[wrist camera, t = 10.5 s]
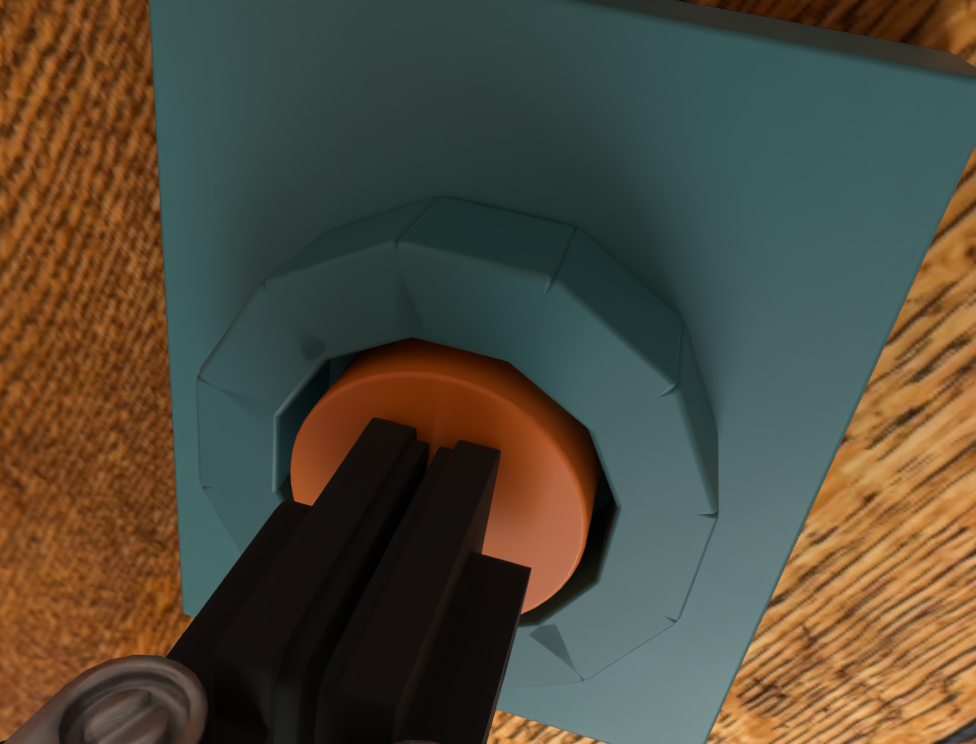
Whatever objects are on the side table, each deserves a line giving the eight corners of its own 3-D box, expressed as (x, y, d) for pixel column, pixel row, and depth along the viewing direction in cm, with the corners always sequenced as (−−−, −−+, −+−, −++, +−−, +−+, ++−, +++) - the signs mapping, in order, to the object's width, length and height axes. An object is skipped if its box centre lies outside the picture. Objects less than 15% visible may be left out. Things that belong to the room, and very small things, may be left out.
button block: (231, -85, 12) (37, -82, 9) (955, 52, 11) (1068, 118, 7) (236, 541, 18) (124, 689, 15) (697, 676, 17) (692, 872, 13)
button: (346, 281, 12) (292, 337, 10) (633, 352, 11) (619, 421, 10) (332, 504, 14) (284, 578, 12) (572, 572, 13) (554, 658, 12)
